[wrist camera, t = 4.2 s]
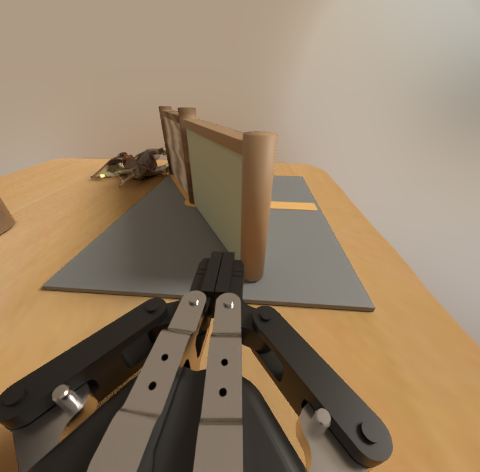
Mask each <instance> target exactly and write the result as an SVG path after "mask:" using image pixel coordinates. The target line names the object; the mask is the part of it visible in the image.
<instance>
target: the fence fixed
mask: <svg viewBox="0 0 480 472" xmlns="http://www.w3.org/2000/svg"><path fill="white" fill-rule="evenodd" d="M159 112H160V118H161V124H162V130H163V135H164V141H165V148H166V154H167V160H168V166H169V170H170V174H171V175H174V176H175V177H176V179H177V180H178V181H179V183H180V184H181V186H182V187H183V188H184V190H185V191H186V193H187V194H188V195H189V202H190V203H191V204H195V203H194V195H193V186H192V177H191V168H190V159H189V150H188V141H187V132H186V128H184V121H183V119H196V109H195V108H178V111H174V110H172V109H171V107H169V106H160V107H159Z"/></svg>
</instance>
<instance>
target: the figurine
mask: <svg viewBox="0 0 480 472" xmlns="http://www.w3.org/2000/svg"><path fill="white" fill-rule="evenodd" d="M157 154H158V155H157ZM161 154H162V155H166V150H165V149H163V148H160V149H147V150H146V151H144V152H142V153H140V154H138V155H137V156H135V157H133V156H132V155H127V153H126V152H125V153H123V152H122V153H120V155H118V156H117V157H115V158H113V159H111V160H109V161H108V162H107V163H106V164H105V165H104V166H103V167H102V168H101V169H100V170H99V171H98V172H97V173H96V174H94V175H93V176H91V179H92V178H93V177H101V178H103V177H114V176H118V175H119V174H127V176H128V177H127V178H126V179H125V180H122V179H121V178H120V177H119V176H118V177H119V178H120V179H121V180H122V182H121V184H120V186H122V185H123V183H125V182H126V181H128V180H130V179H131V178H132V179H135V180H141V179H142V178H144V177H145V176H152V175H159V174H162V173H166V174H167V173H168V172H169V173H170V170H169V166H168V163H167V164H166V165H163V166H159V167H158V166H157V163H156V160H157V159H158V158H159V157H160V155H161ZM154 155H157V156H154ZM122 161H123V162H122ZM122 163H123V165H124V167H125V168H124V167H123V166H122ZM120 186H119V187H120Z"/></svg>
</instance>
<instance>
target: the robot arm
mask: <svg viewBox="0 0 480 472" xmlns="http://www.w3.org/2000/svg"><path fill="white" fill-rule="evenodd" d="M14 223H15V220H14V219H13V217H12V215H11V214H10V212H9V211H8V209H7V207H6V206H5V204H4V203H3V201H2V200H1V198H0V234H2V233H3V232H5V231H7V230H8V229H10V228H11V227H12V226H13V225H14ZM243 285H244V264H243V262H242V260H235V252H224V253H223V252H222V251H212V254H211V257H210V258H204V259H203V260H202V261H201V262H200V263H199V265H198V268H197V271H196V274H195V277H194V280H193V282H192V285H191V288H190V291H189V292H188V293H186V294H185V295H184V296H183V297H182V299H181V300H179V301H176V302H171V303H166V302H165V301H164V300H163V299H161V298H153V299H150V300H147V301H146V302H144V303H142V304H141V305H139V306H138V307H136V308H134V309H133V310H131V311H130V312H128V313H126V314H125V315H123V316H122V317H120V318H118V319H117V320H115V321H114V322H112V323H110V324H109V325H107V326H106V327H104V328H102V329H101V330H99V331H98V332H96V333H94V334H93V335H91V336H90V337H88V338H86V339H85V340H83V341H82V342H80V343H78V344H77V345H75V346H74V347H72V348H70V349H69V350H67V351H65V352H64V353H62V354H61V355H59V356H57V357H56V358H54V359H53V360H51V361H49V362H48V363H46V364H45V365H43V366H41V367H40V368H38V369H37V370H35V371H33V372H32V373H30V374H29V375H27V376H25V377H24V378H22V379H21V380H19V381H17V382H16V383H14V384H13V385H11V386H10V387H9V388H7V389H6V390H5V391H4V392H3V393H2V394H1V395H0V423H1V424H2V425H4V426H5V427H6V428H7V429H8V430H10V431H11V432H12V433H13V438H14V444H15V450H16V456H17V462H18V468H19V472H369V471H371V470H372V469H374V468H375V467H377V466H378V465H380V464H381V463H383V462H384V461H386V460H387V459H388V458H389V457H390V456H391V454H392V449H393V444H392V439H391V436H390V433H389V431H388V429H387V427H386V426H385V424H384V423H383V422H382V420H381V419H380V418H379V417H378V416H377V415H376V414H375V413H374V412H373V411H372V410H371V409H370V408H369V407H368V406H367V405H366V404H365V402H364V401H363V400H362V399H361V398H360V397H359V396H358V395H357V394H356V393H355V392H354V391H353V390H352V389H351V388H350V387H349V386H348V385H347V384H346V383H345V382H344V381H343V380H342V379H341V377H340V376H339V375H338V374H337V373H336V372H335V371H334V370H333V369H332V368H331V367H330V366H329V365H328V364H327V363H326V362H325V361H324V360H323V359H322V358H321V357H320V356H319V355H318V354H317V352H316V351H315V350H314V349H313V348H312V347H311V346H310V345H309V344H308V343H307V342H306V341H305V340H304V339H303V338H302V337H301V336H300V335H299V334H298V333H297V332H296V331H295V330H294V329H293V328H292V326H291V325H290V324H289V323H288V322H287V321H286V320H285V319H284V318H283V317H282V316H281V315H280V314H279V313H278V312H277V311H276V310H275V309H274V308H272V307H269V306H260V307H258V308H257V309H256V308H253V307H251V306H249V305H247V304H246V303H245V302H244V301H243ZM211 318H214V323H213V332H212V334H211V337H210V344H209V353H208V361H207V369H205V370H200V371H199V367H200V361H201V357H202V354H203V350H204V347H205V343H206V340H207V336H208V333H209V326H210V321H211ZM242 344H243V345H245V346H248V347H250V348H251V350H252V352H253V353H254V355H255V356H256V358H257V359H258V360H259V362H260V363H261V365H262V366H263V367H264V369H265V370H266V372H267V373H268V374H269V376H270V377H271V379H272V380H273V381H274V383H275V384H276V386H277V387H278V388H279V390H280V391H281V393H282V394H283V395H284V397H285V398H286V399H287V401H288V402H289V404H290V405H291V406H292V408H293V409H294V411H295V412H296V413H297V415H298V416H299V418H298V420H297V423H296V435H297V438H298V441H299V443H300V445H301V447H302V449H303V451H304V455H305V459H306V468H305V466H304V465H303V463H302V461H301V460H300V458H299V456H298V455H297V453H296V451H295V450H294V448H293V446H292V445H291V443H290V441H289V440H288V438H287V436H286V435H285V433H284V431H283V430H282V428H281V426H280V425H279V423H278V421H277V420H276V418H275V416H274V415H273V413H272V411H271V410H270V408H269V406H268V405H267V403H266V401H265V400H264V398H263V396H262V395H261V393H260V392H259V390H258V389H257V388H256V387H255V386H254V385H253V384H252V383H251V382H250V381H249V380H247V379H246V378H244V377H242ZM142 367H143V368H142ZM140 368H142V370H141V372H140V374H139V375H138V376H136V377H135V378H133V379H132V380H131V381H130V382H128V383H127V384H126V385H125V386H124V387H123V388H121V389H120V390H119V391H118V392H117V393H116V394H115V395H113V396H112V397H111V398H110V399H109V400H108V401H107V402H105V403H104V404H103V405H102V406H101V407H100V408H99V409H97V410H96V408H97V404H98V403H99V402H100V401H101V400H103V399H104V398H105V397H106V396H107V395H109V394H110V393H111V392H112V391H114V390H115V389H116V388H117V387H118V386H120V385H121V384H122V383H123V382H125V381H126V380H127V379H128V378H129V377H131V376H132V375H133V374H134V373H136V372H137V371H138V370H139V369H140Z"/></svg>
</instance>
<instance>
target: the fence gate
mask: <svg viewBox="0 0 480 472" xmlns="http://www.w3.org/2000/svg"><path fill="white" fill-rule="evenodd" d="M183 121H184V128H186V132H187V141H188V150H189V159H190V168H191V177H192V186H193V195H194V203H195V206H196V207H197V209H198V210H199V212H200V213H201V214H202V216H203V217H204V218H205V220H206V221H207V223H208V224H209V225H210V227H211V228H212V230H213V231H214V232H215V234H216V235H217V237H218V238H219V239H220V241H221V242H222V244H223V245H224V246H225V248H226V249H227V251H228V252H235V260H242V262H243V264H244V280H247V281H251V282H254V281H258V280H260V279H261V278H262V277H263V274H264V264H265V254H266V244H267V234H268V224H269V215H270V205H271V195H272V185H273V175H274V165H275V154H276V145H277V134H276V133H271V132H258V131H255V132H245V133H244V132H241V131H237V130H234V129H231V128H227V127H223V126H220V125H217V124H214V123H210V122H207V121H204V120H200V119H183Z"/></svg>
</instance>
